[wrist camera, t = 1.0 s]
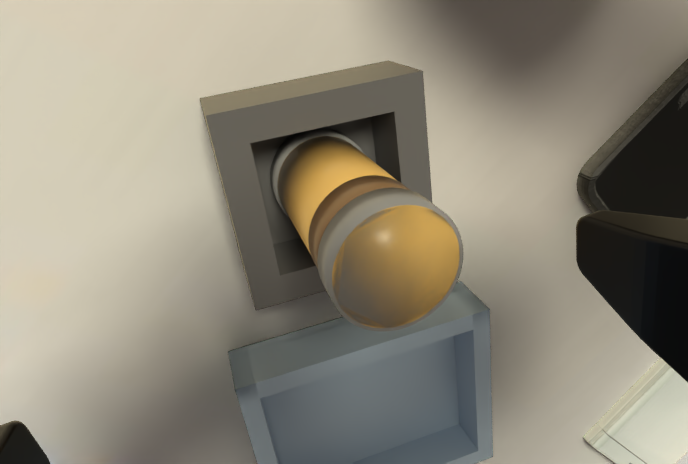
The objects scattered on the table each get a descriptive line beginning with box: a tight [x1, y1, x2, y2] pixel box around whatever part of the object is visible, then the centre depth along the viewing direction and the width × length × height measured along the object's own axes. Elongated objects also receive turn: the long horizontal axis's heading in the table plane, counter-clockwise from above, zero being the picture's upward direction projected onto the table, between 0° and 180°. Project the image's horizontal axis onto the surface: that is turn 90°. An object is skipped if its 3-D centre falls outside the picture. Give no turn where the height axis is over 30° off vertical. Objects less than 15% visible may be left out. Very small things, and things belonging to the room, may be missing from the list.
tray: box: [228, 282, 493, 464], centre depth 25 cm, size 11×9×2 cm
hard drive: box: [583, 358, 688, 464], centre depth 34 cm, size 2×8×12 cm
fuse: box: [270, 127, 463, 331], centre depth 17 cm, size 4×4×8 cm
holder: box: [200, 61, 432, 310], centre depth 19 cm, size 7×7×3 cm
